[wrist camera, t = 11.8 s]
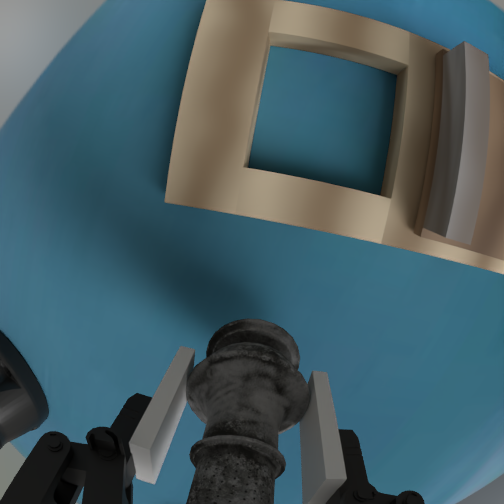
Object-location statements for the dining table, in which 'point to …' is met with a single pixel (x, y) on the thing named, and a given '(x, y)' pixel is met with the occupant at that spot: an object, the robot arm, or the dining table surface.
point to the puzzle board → (245, 114)
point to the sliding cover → (465, 156)
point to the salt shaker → (244, 411)
